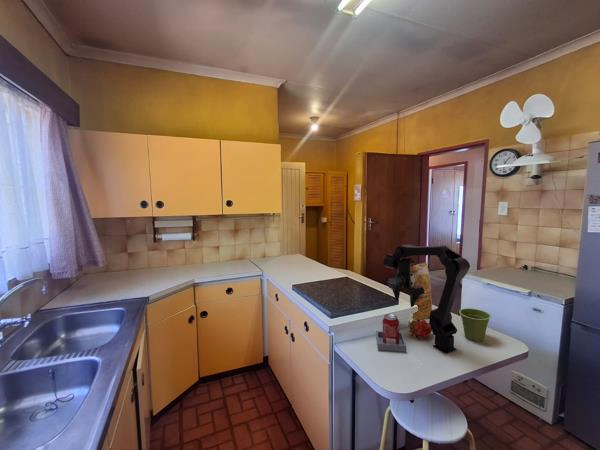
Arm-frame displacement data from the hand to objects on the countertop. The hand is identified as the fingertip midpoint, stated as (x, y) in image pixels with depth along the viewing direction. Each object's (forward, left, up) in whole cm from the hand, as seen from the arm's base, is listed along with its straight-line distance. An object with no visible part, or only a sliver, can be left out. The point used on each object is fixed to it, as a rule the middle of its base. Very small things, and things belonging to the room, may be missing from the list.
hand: (404, 303), depth 130 cm
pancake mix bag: (+8, -20, -13) cm, 25 cm away
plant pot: (-20, -21, -13) cm, 32 cm away
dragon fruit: (-8, -2, -13) cm, 16 cm away
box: (-7, +15, -13) cm, 21 cm away
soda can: (-7, +15, -13) cm, 21 cm away
